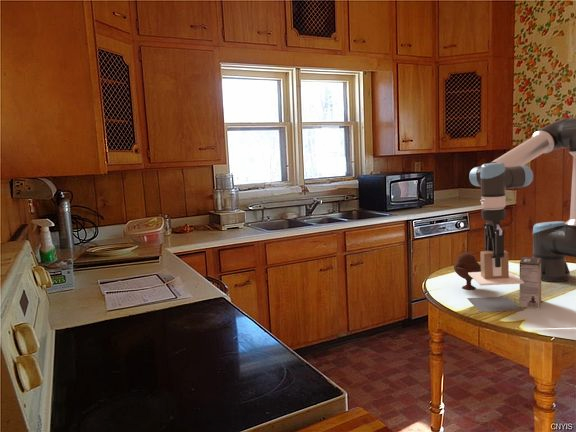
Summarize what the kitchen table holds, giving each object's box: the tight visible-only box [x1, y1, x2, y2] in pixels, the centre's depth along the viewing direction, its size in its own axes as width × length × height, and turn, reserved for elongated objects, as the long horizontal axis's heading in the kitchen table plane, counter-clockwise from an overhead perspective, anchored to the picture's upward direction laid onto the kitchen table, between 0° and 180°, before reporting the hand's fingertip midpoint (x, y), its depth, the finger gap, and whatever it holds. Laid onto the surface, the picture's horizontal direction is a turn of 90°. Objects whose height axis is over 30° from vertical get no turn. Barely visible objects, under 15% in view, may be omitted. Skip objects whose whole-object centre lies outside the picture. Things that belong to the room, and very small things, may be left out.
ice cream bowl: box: [453, 252, 481, 291], centre depth 173 cm, size 11×11×15 cm
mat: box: [466, 296, 525, 313], centre depth 155 cm, size 14×14×1 cm
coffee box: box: [519, 256, 542, 310], centre depth 152 cm, size 9×6×16 cm
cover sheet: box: [468, 249, 524, 286], centre depth 153 cm, size 14×14×10 cm
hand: (494, 273), depth 153 cm, fingers closed on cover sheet, 4 cm apart
